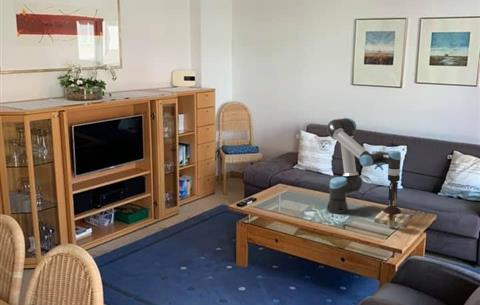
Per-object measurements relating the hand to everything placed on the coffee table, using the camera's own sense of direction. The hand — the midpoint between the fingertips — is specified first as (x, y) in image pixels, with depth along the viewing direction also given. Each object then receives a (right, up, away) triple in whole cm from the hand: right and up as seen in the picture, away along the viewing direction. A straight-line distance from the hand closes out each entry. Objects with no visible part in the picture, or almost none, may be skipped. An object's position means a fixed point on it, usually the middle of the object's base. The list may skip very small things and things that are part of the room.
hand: (392, 208), depth 328 cm
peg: (0, -3, 0) cm, 3 cm away
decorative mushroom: (-4, -11, -11) cm, 16 cm away
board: (0, -8, +2) cm, 8 cm away
